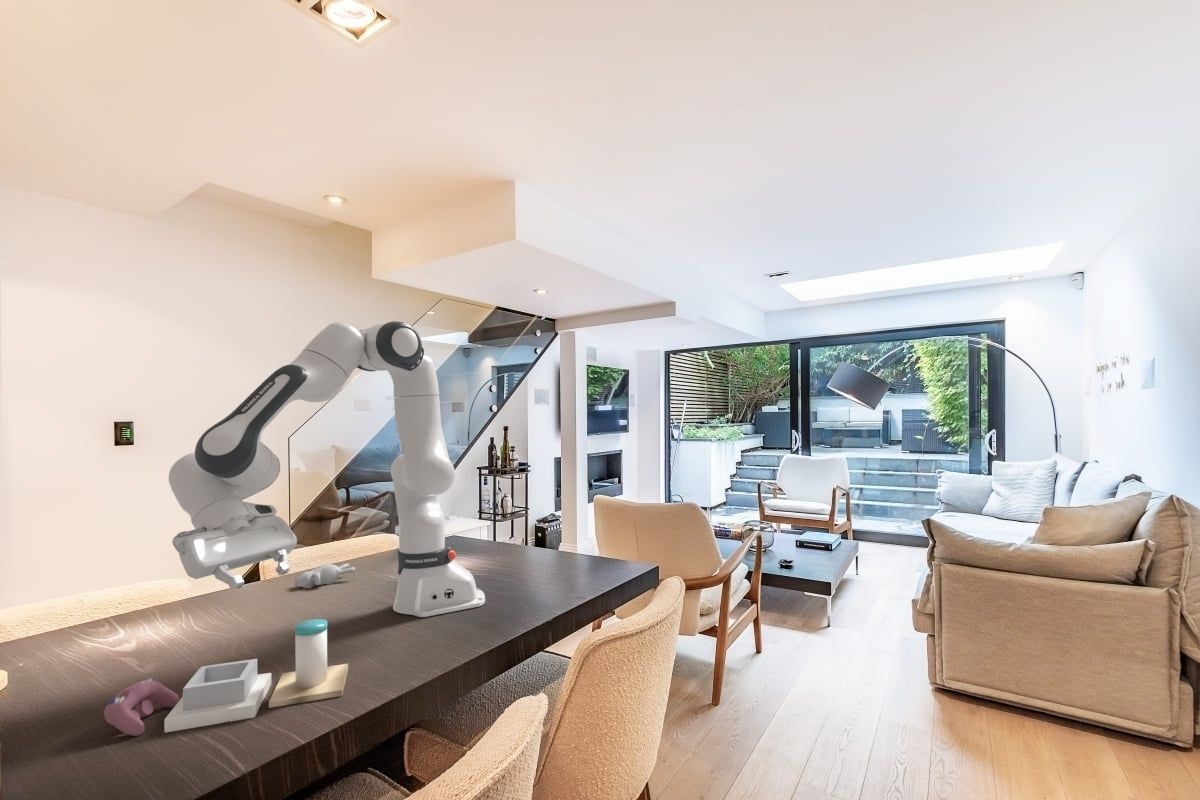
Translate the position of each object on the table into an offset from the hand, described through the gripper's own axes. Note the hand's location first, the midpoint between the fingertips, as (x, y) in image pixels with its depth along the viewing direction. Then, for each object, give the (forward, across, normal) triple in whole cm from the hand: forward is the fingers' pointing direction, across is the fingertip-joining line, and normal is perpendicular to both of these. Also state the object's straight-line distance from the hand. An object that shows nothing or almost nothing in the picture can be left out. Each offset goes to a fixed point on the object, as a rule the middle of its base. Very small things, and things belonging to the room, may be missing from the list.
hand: (263, 579), depth 104 cm
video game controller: (+10, -17, +16) cm, 26 cm away
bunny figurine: (-14, +50, +40) cm, 65 cm away
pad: (+21, 0, +4) cm, 21 cm away
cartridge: (+20, 0, +4) cm, 21 cm away
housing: (+15, -10, +10) cm, 21 cm away
